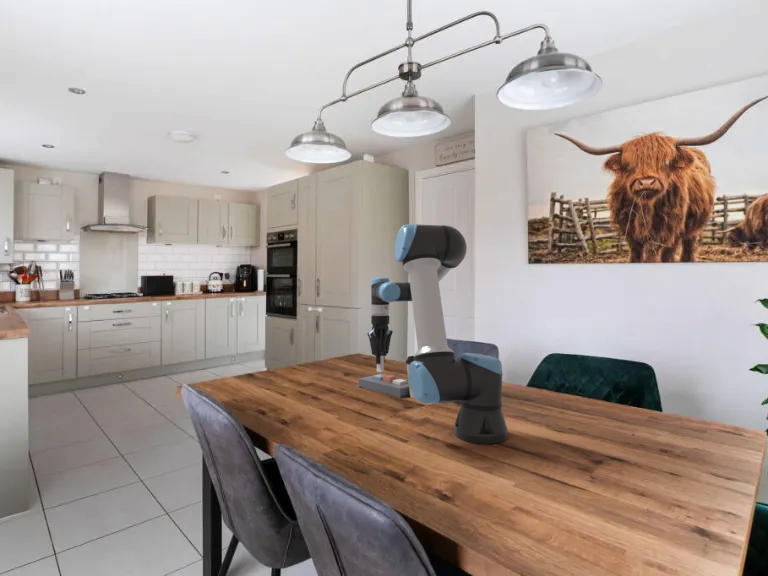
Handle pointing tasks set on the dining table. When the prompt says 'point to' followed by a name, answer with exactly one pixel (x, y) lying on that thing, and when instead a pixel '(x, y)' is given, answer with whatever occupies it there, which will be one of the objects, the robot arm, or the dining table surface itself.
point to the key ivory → (399, 381)
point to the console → (385, 386)
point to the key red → (389, 378)
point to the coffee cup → (408, 361)
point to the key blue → (378, 377)
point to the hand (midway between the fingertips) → (380, 371)
